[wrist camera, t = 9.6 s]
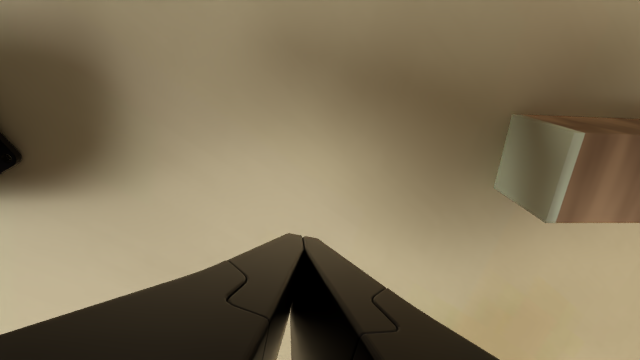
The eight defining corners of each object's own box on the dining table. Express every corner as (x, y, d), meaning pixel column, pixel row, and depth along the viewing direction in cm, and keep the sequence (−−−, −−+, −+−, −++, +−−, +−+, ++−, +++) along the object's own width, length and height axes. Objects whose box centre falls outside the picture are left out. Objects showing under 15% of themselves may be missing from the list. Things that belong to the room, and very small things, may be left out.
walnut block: (545, 222, 19) (763, 222, 20) (574, 132, 17) (810, 140, 19) (493, 187, 23) (674, 189, 25) (512, 114, 22) (705, 121, 23)
